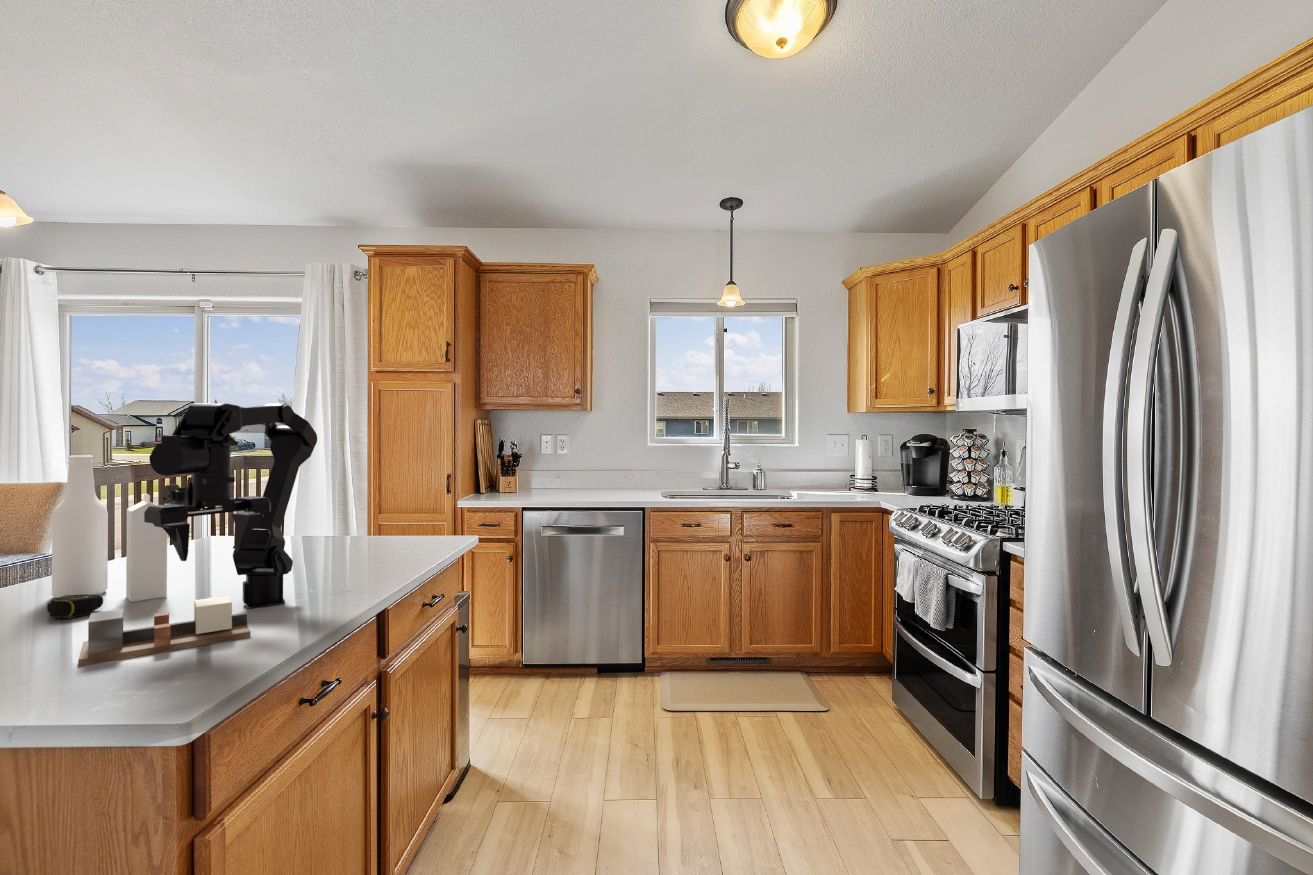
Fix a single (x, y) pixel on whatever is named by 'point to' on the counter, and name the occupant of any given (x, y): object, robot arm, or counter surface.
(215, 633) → the board
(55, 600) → the tape measure
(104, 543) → the alcohol
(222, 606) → the sleeve
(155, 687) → the counter surface
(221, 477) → the robot arm
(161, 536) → the milk
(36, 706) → the counter surface
